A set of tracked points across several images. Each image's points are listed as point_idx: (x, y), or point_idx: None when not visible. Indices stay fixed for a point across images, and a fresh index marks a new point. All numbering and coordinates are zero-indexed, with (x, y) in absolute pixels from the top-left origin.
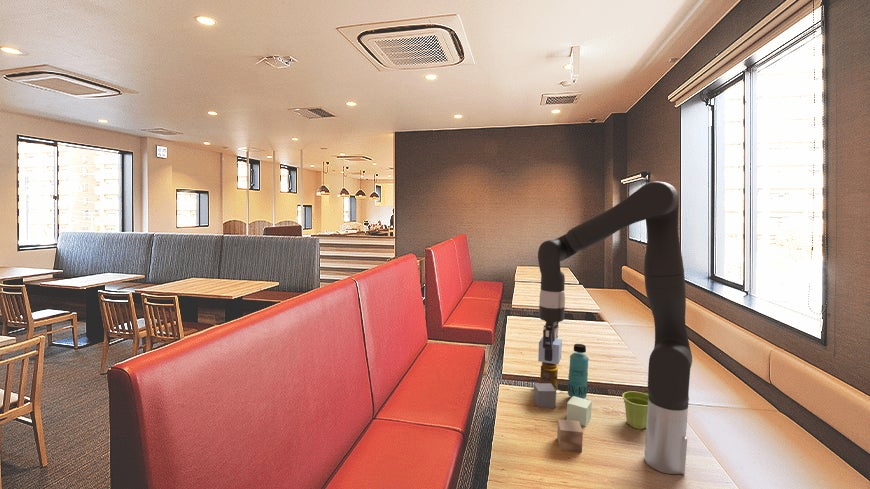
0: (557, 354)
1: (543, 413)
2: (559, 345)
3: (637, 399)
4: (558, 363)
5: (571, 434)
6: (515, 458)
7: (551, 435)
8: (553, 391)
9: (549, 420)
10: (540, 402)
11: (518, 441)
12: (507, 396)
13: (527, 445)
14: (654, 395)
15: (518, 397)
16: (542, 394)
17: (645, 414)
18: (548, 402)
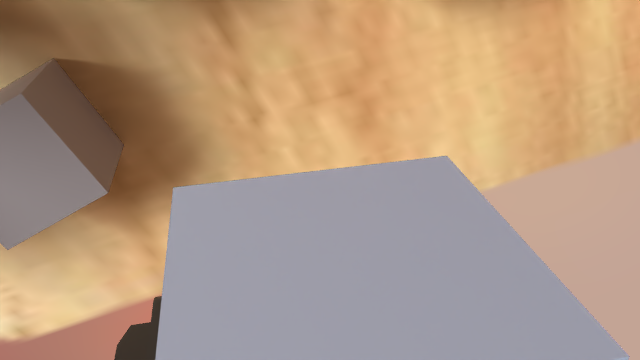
0: (514, 247)
1: (169, 100)
2: (535, 347)
3: None
4: (439, 161)
5: None
6: (596, 96)
7: (373, 5)
8: (36, 108)
9: (228, 51)
10: (109, 146)
11: (479, 124)
12: (104, 302)
13: (496, 82)
14: None
15: (76, 260)
16: (94, 160)
17: None
18: (77, 107)
